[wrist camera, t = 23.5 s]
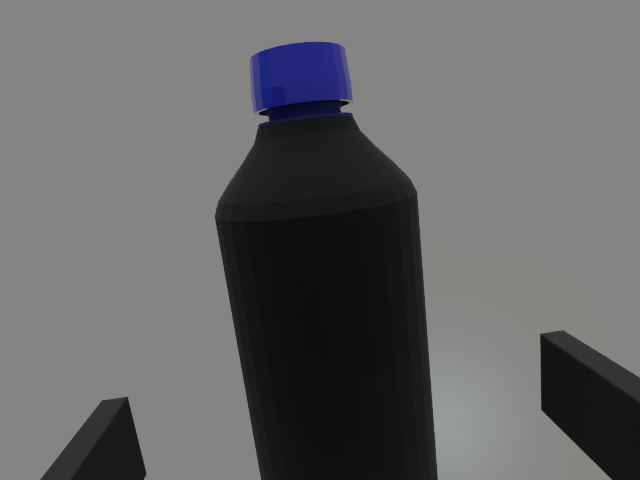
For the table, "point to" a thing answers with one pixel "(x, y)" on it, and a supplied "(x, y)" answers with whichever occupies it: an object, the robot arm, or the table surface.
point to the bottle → (326, 283)
